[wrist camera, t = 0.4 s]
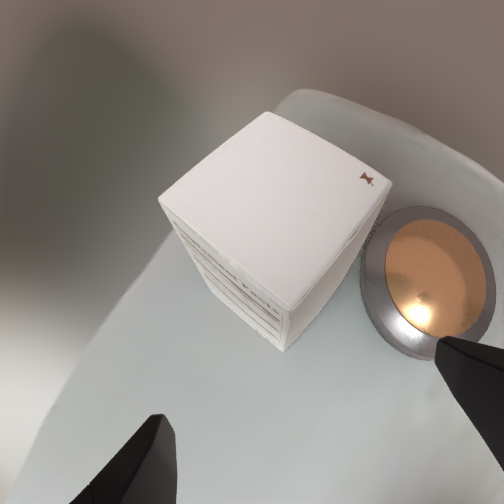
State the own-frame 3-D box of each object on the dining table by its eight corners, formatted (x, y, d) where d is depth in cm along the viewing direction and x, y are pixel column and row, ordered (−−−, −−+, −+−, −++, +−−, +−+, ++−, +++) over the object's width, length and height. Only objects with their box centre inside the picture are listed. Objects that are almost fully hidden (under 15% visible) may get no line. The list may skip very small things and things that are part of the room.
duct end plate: (498, 270, 22) (510, 262, 20) (448, 390, 18) (462, 388, 16) (401, 193, 26) (408, 180, 24) (328, 297, 22) (333, 288, 20)
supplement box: (272, 228, 25) (269, 104, 14) (343, 283, 23) (401, 181, 11) (209, 292, 23) (151, 195, 12) (281, 356, 21) (293, 317, 9)
